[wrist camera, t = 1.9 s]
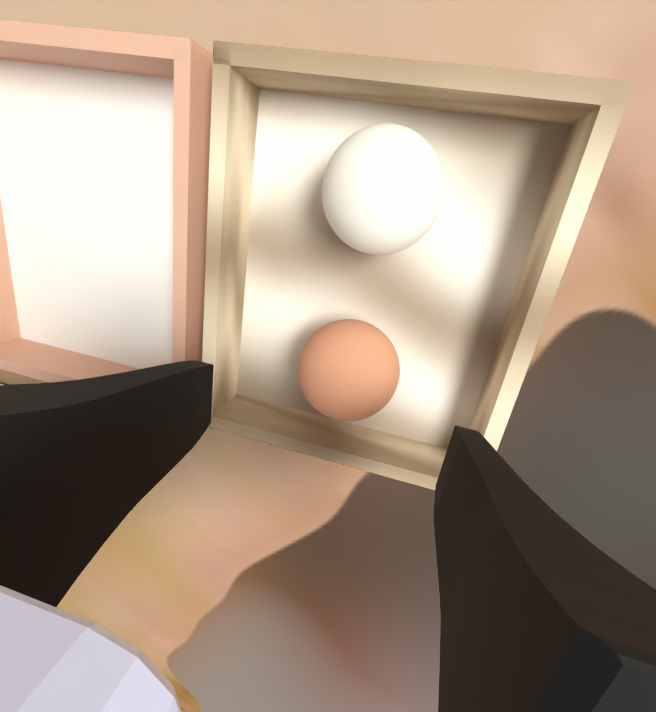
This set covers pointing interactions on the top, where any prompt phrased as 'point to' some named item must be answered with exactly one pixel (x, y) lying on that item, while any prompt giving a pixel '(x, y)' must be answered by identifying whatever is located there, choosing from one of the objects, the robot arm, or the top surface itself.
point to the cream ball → (383, 189)
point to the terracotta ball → (348, 370)
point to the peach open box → (101, 200)
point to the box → (398, 270)
